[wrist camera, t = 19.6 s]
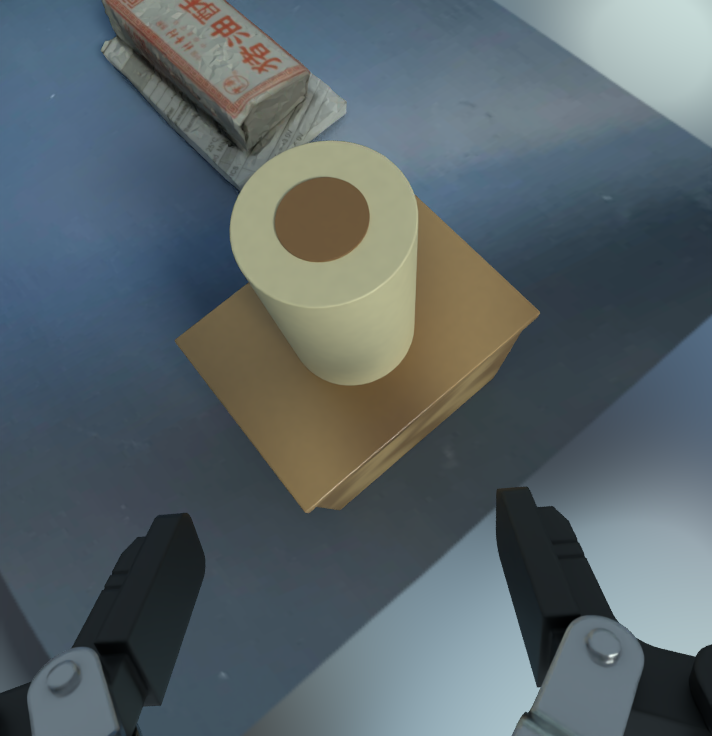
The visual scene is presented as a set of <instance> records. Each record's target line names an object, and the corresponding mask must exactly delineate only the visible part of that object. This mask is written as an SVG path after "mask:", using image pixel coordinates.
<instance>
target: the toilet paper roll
mask: <svg viewBox="0 0 712 736" xmlns="http://www.w3.org/2000/svg"><path fill="white" fill-rule="evenodd" d="M230 242H231V248H232V252H233V255H234V257H235V260H236V262H237V264H238V266H239V268H240V270H241V271H242V273H243V274H244V276H245V277H246V279H247V280H248V282H249V283H250V285H251V286H252V288H253V289H254V291H255V293H256V294H257V296H258V297H259V299H260V300H261V302H262V303H263V305H264V306H265V308H266V309H267V311H268V312H269V314H270V315H271V317H272V318H273V320H274V321H275V323H276V324H277V326H278V327H279V329H280V330H281V332H282V333H283V335H284V336H285V338H286V339H287V341H288V342H289V344H290V345H291V347H292V348H293V350H294V351H295V353H296V354H297V356H298V357H299V359H300V360H301V361H302V363H303V364H304V365H305V366H306V367H307V368H308V369H309V370H310V371H311V372H312V373H313V374H315V375H316V376H318V377H320V378H321V379H323V380H326V381H328V382H331V383H335V384H339V385H362V384H366V383H370V382H373V381H375V380H378V379H380V378H382V377H384V376H385V375H387V374H388V373H390V372H391V371H392V370H393V369H395V368H396V367H397V366H398V365H399V364H400V362H401V361H402V360H403V359H404V357H405V355H406V354H407V352H408V350H409V348H410V345H411V343H412V339H413V335H414V324H415V297H416V270H417V244H418V208H417V202H416V199H415V195H414V192H413V190H412V188H411V186H410V184H409V182H408V180H407V179H406V177H405V176H404V175H403V173H402V172H401V171H400V170H399V169H398V168H397V167H396V165H395V164H394V163H392V162H391V161H390V160H389V159H387V158H386V157H385V156H383V155H381V154H380V153H378V152H376V151H374V150H372V149H370V148H368V147H365V146H362V145H359V144H355V143H350V142H344V141H318V142H312V143H307V144H303V145H299V146H296V147H294V148H291V149H289V150H286V151H284V152H282V153H280V154H278V155H276V156H275V157H273V158H272V159H270V160H269V161H267V162H266V163H265V164H264V165H262V166H261V167H260V168H259V169H258V170H257V171H256V172H255V173H254V174H253V175H252V176H251V177H250V178H249V180H248V181H247V182H246V184H245V185H244V186H243V188H242V190H241V192H240V193H239V195H238V197H237V199H236V202H235V204H234V207H233V211H232V215H231V221H230Z"/></svg>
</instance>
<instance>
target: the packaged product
mask: <svg viewBox="0 0 712 736" xmlns="http://www.w3.org/2000/svg"><path fill="white" fill-rule="evenodd" d="M101 1H102V3H103V5H104V8H105V13H106V14H107V15H108V16H109V20H110V23H111V25H112V28H113V30H114V31H115V33H116V35H117V36H116V37H115V38H113V39H112V40H109V41H105V43H104V45H103V47H102V49H101V52H102V53H103V54H104V55H105V57H106V58H107V59H108V61H109V62H110V63H111V64H112V65H113V66H115V67H116V68H117V69H118V70H119V71H120V72H121V73H122V74H123V75H124V76H125V77H126V78H128V79H129V80H130V81H131V83H132V84H133V85H134V86H135V87H136V88H137V89H138V91H139V92H140V93H141V94H142V95H143V96H144V97H145V98H146V100H147V101H148V102H149V103H150V104H151V105H152V106H153V107H154V109H155V110H156V111H157V112H158V113H159V114H160V115H161V116H162V117H163V118H164V119H165V120H166V121H167V122H168V124H169V125H170V126H171V127H172V128H173V129H174V130H175V131H176V132H177V133H178V134H179V135H181V136H182V137H183V138H184V139H185V140H186V141H187V142H188V143H189V144H190V145H191V146H192V147H193V148H194V149H195V150H196V151H197V152H198V153H199V154H200V155H201V156H202V157H203V158H204V159H206V160H207V161H208V162H209V163H210V164H211V165H212V166H213V167H214V168H215V169H216V170H217V171H218V172H219V173H220V174H221V175H222V176H223V177H224V178H225V179H227V180H228V181H229V182H230V183H231V184H232V185H234V186H235V187H236V188H237V189H238V190H239V191H241V190H242V188H243V186H244V185H245V184H246V182H247V181H248V180H249V178H250V177H251V176H252V175H253V174H254V173H255V172H256V171H257V170H258V169H259V168H260V167H261V166H262V165H264V164H265V163H266V162H267V161H269V160H270V159H272V158H273V157H275V156H276V155H278V154H280V153H282V152H284V151H286V150H289V149H291V148H294V147H296V146H299V145H303V144H307V143H309V142H310V141H311V140H313V139H314V138H315V137H316V136H318V135H319V134H320V133H321V132H323V131H324V130H325V129H326V128H328V127H329V126H330V125H332V124H333V123H334V122H335V121H337V120H338V119H339V118H341V117H342V116H343V115H345V114H346V103H347V102H346V101H345V100H344V99H342V98H341V97H340V96H338V95H337V94H336V93H335V92H333V91H332V90H331V88H330V87H329V86H328V85H327V84H325V83H324V82H323V81H321V80H320V79H319V78H317V77H316V76H314V75H313V74H312V73H311V72H310V71H309V70H308V69H307V68H306V67H305V66H304V65H303V64H302V63H301V62H300V61H299V60H297V59H295V58H294V57H293V56H292V55H291V54H289V53H288V52H287V51H286V50H285V49H283V48H282V47H281V46H280V45H279V44H278V43H276V42H275V41H274V40H273V39H272V38H270V37H269V36H268V35H267V34H265V33H264V32H263V31H262V30H261V29H259V28H258V27H257V26H256V25H255V24H253V23H252V22H251V21H250V20H248V19H247V18H246V17H245V16H243V15H242V14H241V13H240V12H239V11H237V10H236V9H235V8H234V7H233V6H231V5H230V4H229V3H228V2H227V1H226V0H101Z"/></svg>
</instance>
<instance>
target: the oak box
mask: <svg viewBox="0 0 712 736" xmlns="http://www.w3.org/2000/svg"><path fill="white" fill-rule="evenodd" d="M414 195H415V194H414ZM415 199H416V202H417V208H418V244H417V270H416V297H415V324H414V335H413V339H412V343H411V345H410V348H409V350H408V352H407V354H406V355H405V357H404V359H403V360H402V361H401V362H400V364H399V365H398V366H397V367H396V368H395V369H393V370H392V371H391V372H390V373H388V374H387V375H385V376H384V377H382V378H380V379H378V380H375V381H373V382H370V383H366V384H362V385H339V384H335V383H331V382H328V381H326V380H323V379H321V378H320V377H318V376H316V375H315V374H313V373H312V372H311V371H310V370H309V369H308V368H307V367H306V366H305V365H304V364H303V363H302V361H301V360H300V359H299V357H298V356H297V354H296V353H295V351H294V350H293V348H292V347H291V345H290V344H289V342H288V341H287V339H286V338H285V336H284V335H283V333H282V332H281V330H280V329H279V327H278V326H277V324H276V323H275V321H274V320H273V318H272V317H271V315H270V314H269V312H268V311H267V309H266V308H265V306H264V305H263V303H262V302H261V300H260V299H259V297H258V296H257V294H256V293H255V291H254V289H253V288H252V286H251V285H250V283H247V284H246V285H245V286H243V287H242V288H241V289H240V290H238V291H237V292H236V293H234V294H233V295H232V296H231V297H229V298H228V299H227V300H225V301H224V302H223V303H222V304H220V305H219V306H218V307H216V308H215V309H214V310H213V311H211V312H210V313H209V314H207V315H206V316H205V317H204V318H202V319H201V320H200V321H198V322H197V323H196V324H195V325H193V326H192V327H191V328H189V329H188V330H187V331H186V332H184V333H183V334H182V335H180V336H179V337H178V338H177V339H175V342H176V344H177V345H178V346H179V348H180V349H181V350H182V352H183V353H184V354H185V356H186V357H187V358H188V359H189V361H190V362H191V363H192V365H193V366H194V367H195V369H196V370H197V371H198V373H199V374H200V375H201V377H202V378H203V379H204V381H205V382H206V383H207V384H208V386H209V387H210V388H211V390H212V391H213V392H214V394H215V395H216V396H217V398H218V399H219V400H220V402H221V403H222V404H223V405H224V407H225V408H226V409H227V411H228V412H229V413H230V415H231V416H232V417H233V419H234V420H235V421H236V423H237V424H238V425H239V426H240V428H241V429H242V430H243V432H244V433H245V434H246V436H247V437H248V438H249V440H250V441H251V442H252V444H253V445H254V446H255V447H256V449H257V450H258V451H259V453H260V454H261V455H262V457H263V458H264V459H265V461H266V462H267V463H268V465H269V466H270V467H271V469H272V470H273V471H274V472H275V474H276V475H277V476H278V478H279V479H280V480H281V482H282V483H283V484H284V486H285V487H286V488H287V490H288V491H289V492H290V493H291V495H292V496H293V497H294V499H295V500H296V501H297V503H298V504H299V505H300V507H301V508H302V509H303V511H304V512H305V513H310V512H311V511H312V510H313V509H314V508H315V507H322V508H328V509H335V510H341V509H342V508H343V507H344V506H345V505H346V504H348V503H349V502H350V501H351V500H352V499H353V498H355V497H356V496H357V495H358V494H359V493H360V492H362V491H363V490H364V489H365V488H366V487H367V486H369V485H370V484H371V483H372V482H373V481H374V480H375V479H377V478H378V477H379V476H380V475H381V474H382V473H384V472H385V471H386V470H387V469H388V468H389V467H391V466H392V465H393V464H394V463H395V462H396V461H397V460H399V459H400V458H401V457H402V456H403V455H404V454H406V453H407V452H408V451H409V450H410V449H411V448H413V447H414V446H415V445H416V444H417V443H418V442H419V441H421V440H422V439H423V438H424V437H425V436H426V435H428V434H429V433H430V432H431V431H432V430H433V429H435V428H436V427H437V426H438V425H439V424H440V423H442V422H443V421H444V420H445V419H446V418H447V417H448V416H450V415H451V414H452V413H453V412H454V411H455V410H457V409H458V408H459V407H460V406H461V405H462V404H464V403H465V402H466V401H467V400H468V399H469V398H470V397H472V396H473V395H474V394H475V393H476V392H477V391H479V390H480V389H481V388H482V387H483V386H484V385H486V384H487V383H488V382H489V381H490V380H491V379H493V378H494V376H495V374H496V373H497V371H498V369H499V368H500V366H501V364H502V363H503V361H504V360H505V358H506V356H507V355H508V353H509V351H510V350H511V348H512V346H513V345H514V343H515V341H516V340H517V338H518V336H519V335H520V333H521V331H522V330H523V329H525V328H526V327H527V326H528V325H529V324H530V323H532V322H533V321H534V320H535V319H536V318H537V317H538V315H539V314H540V312H539V311H538V310H537V309H536V308H535V307H534V306H533V305H532V304H531V303H530V302H529V301H528V300H527V299H526V298H525V297H524V296H522V295H521V294H520V293H519V292H518V291H517V290H516V289H515V288H514V287H513V286H512V285H511V284H510V283H509V282H508V281H506V280H505V279H504V278H503V277H502V276H501V275H500V274H499V273H498V272H497V271H496V270H495V269H494V268H493V267H492V266H490V265H489V264H488V263H487V262H486V261H485V260H484V259H483V258H482V257H481V256H480V255H479V254H478V253H477V252H476V251H474V250H473V249H472V248H471V247H470V246H469V245H468V244H467V243H466V242H465V241H464V240H463V239H462V238H461V237H460V236H458V235H457V234H456V233H455V232H454V231H453V230H452V229H451V228H450V227H449V226H448V225H447V224H446V223H445V222H444V221H442V220H441V219H440V218H439V217H438V216H437V215H436V214H435V213H434V212H433V211H432V210H431V209H430V208H429V207H428V206H426V205H425V204H424V203H423V202H422V201H421V200H420V199H419V198H418V197H417V196H416V195H415Z"/></svg>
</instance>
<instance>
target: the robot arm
mask: <svg viewBox="0 0 712 736" xmlns="http://www.w3.org/2000/svg"><path fill="white" fill-rule="evenodd" d="M496 539H497V547H498V552H499V557H500V560H501V564H502V567H503V571H504V574H505V578H506V581H507V585H508V588H509V592H510V595H511V598H512V602H513V605H514V609H515V612H516V615H517V619H518V623H519V626H520V630H521V633H522V637H523V640H524V643H525V647H526V650H527V654H528V657H529V660H530V664H531V668H532V671H533V675H534V678H535V682H536V685H537V687H541V688H540V690H539V692H538V695H537V697H536V699H535V701H534V704H533V706H532V708H531V709H530V711H529V712H528V713H527V712H525V713H524V714H523V715H522V717H521V718H520V720H519V722H518V723H517V726H516V728H515V730H514V732H513V734H512V736H712V645H709V646H706V647H704V648H702V649H701V650H700V651H699V652H698V654H697V655H696V657H694V656H690V655H686V654H682V653H677V652H673V651H668V650H665V649H661V648H657V647H654V646H651V645H649V644H646V643H644V642H642V641H641V640H639V639H637V638H636V637H635V636H634V635H633V634H632V633H631V632H630V631H629V630H628V629H627V628H626V627H624V626H623V625H621V624H620V623H619V622H618V621H617V619H616V618H615V617H614V615H613V613H612V611H611V609H610V607H609V605H608V603H607V601H606V599H605V596H604V594H603V592H602V590H601V588H600V586H599V584H598V582H597V580H596V578H595V575H594V574H593V571H592V569H591V567H590V565H589V563H588V561H587V558H585V556H584V552H583V550H582V548H581V546H580V544H579V543H578V541H577V537H576V535H575V533H574V531H573V529H572V527H571V525H570V523H569V521H568V520H567V519H566V518H565V517H564V516H563V515H562V514H560V513H559V512H558V511H557V510H556V509H555V508H554V507H553V506H548V507H537V506H536V504H535V501H534V499H533V497H532V494H531V492H530V490H529V488H528V487H515V488H503V489H497V493H496ZM204 574H205V556H204V552H203V549H202V546H201V544H200V541H199V538H198V535H197V533H196V530H195V527H194V525H193V522H192V519H191V517H190V515H189V514H188V513H180V514H167V515H158V516H157V517H156V518H155V519H154V521H153V523H152V525H151V527H150V529H149V531H148V533H147V535H146V537H137V538H136V539H135V540H134V542H133V543H132V544H131V545H130V546H129V547H128V548H127V549H126V550H125V551H124V552H123V553H122V554H121V556H120V558H119V560H118V562H117V563H116V565H115V567H114V569H113V571H112V575H110V577H109V579H108V580H107V582H106V584H105V586H104V587H105V589H104V590H102V592H101V594H100V596H99V597H98V599H97V601H96V603H95V605H94V607H93V609H92V611H91V613H90V614H89V616H88V618H87V620H86V622H85V624H84V626H83V628H82V630H81V631H80V633H79V635H78V637H77V639H76V641H75V643H74V645H73V646H72V648H71V649H69V650H66V651H64V652H62V653H60V654H58V655H57V656H55V657H54V658H52V659H51V660H50V661H49V662H47V663H46V664H45V665H44V666H43V667H42V669H40V671H39V672H38V673H37V675H36V676H35V677H34V679H33V681H32V682H29V683H27V684H24V685H21V686H19V687H16V688H13V689H11V690H8V691H5V692H2V693H0V736H142V733H141V730H140V727H139V725H138V723H137V721H138V719H139V716H140V713H141V710H142V708H143V706H161V704H162V701H163V698H164V695H165V692H166V689H167V686H168V683H169V680H170V677H171V674H172V671H173V668H174V665H175V662H176V659H177V656H178V653H179V650H180V647H181V644H182V641H183V638H184V635H185V632H186V629H187V626H188V623H189V620H190V617H191V614H192V611H193V608H194V605H195V602H196V599H197V596H198V593H199V590H200V587H201V584H202V581H203V578H204Z"/></svg>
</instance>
